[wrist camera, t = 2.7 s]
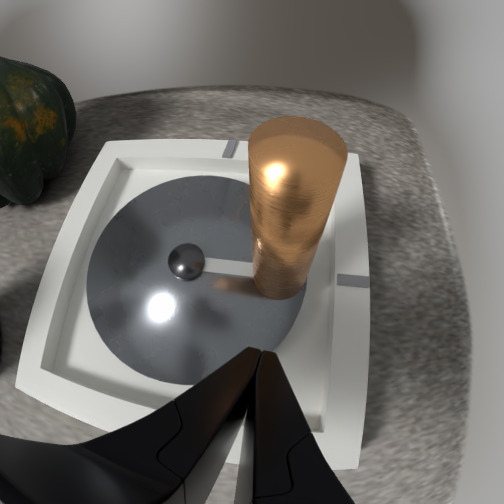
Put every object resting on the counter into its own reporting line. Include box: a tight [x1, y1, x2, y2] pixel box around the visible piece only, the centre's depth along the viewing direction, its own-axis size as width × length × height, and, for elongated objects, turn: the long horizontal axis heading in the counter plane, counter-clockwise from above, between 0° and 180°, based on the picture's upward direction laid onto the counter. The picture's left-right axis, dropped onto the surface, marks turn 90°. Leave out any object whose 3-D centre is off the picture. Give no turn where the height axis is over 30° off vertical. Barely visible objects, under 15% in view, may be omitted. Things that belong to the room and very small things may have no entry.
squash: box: [0, 57, 76, 208], centre depth 19 cm, size 14×15×15 cm
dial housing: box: [15, 139, 370, 470], centre depth 17 cm, size 20×20×3 cm
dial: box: [86, 116, 348, 385], centre depth 13 cm, size 13×13×10 cm
